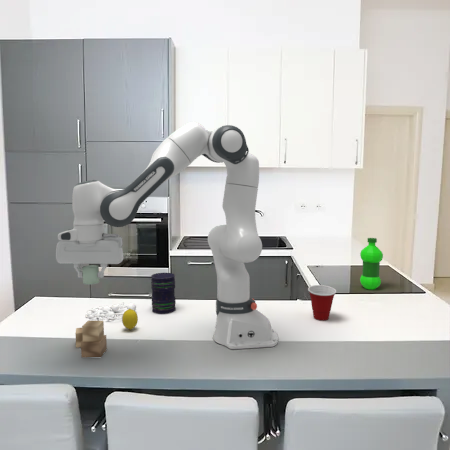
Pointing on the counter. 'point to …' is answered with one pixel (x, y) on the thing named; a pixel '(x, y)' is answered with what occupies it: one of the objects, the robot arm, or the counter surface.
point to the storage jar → (163, 293)
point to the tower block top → (93, 331)
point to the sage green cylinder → (90, 274)
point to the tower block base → (94, 348)
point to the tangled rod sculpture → (109, 311)
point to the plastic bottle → (371, 265)
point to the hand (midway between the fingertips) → (91, 277)
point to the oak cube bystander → (79, 337)
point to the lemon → (130, 319)
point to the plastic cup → (321, 301)
